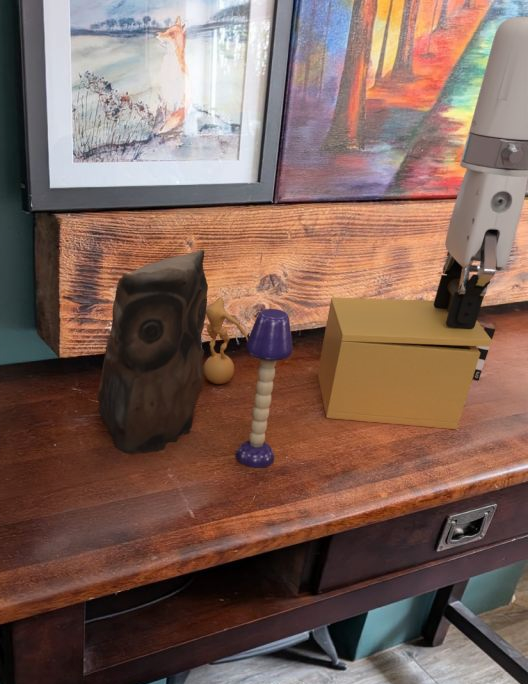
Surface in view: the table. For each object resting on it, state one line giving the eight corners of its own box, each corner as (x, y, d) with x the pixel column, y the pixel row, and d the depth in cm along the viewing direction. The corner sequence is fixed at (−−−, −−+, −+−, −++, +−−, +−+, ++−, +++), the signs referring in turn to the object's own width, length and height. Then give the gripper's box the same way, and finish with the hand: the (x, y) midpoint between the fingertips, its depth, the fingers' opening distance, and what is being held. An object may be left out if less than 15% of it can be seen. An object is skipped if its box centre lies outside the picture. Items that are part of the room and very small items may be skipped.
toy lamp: (277, 471, 80) (302, 321, 71) (234, 469, 80) (253, 319, 71) (270, 449, 84) (293, 305, 75) (229, 448, 84) (247, 303, 75)
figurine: (252, 385, 99) (263, 296, 92) (232, 401, 95) (243, 309, 88) (196, 370, 102) (204, 283, 96) (175, 385, 98) (182, 295, 91)
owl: (199, 409, 92) (215, 243, 81) (208, 460, 82) (227, 278, 71) (97, 406, 92) (99, 238, 81) (93, 457, 81) (94, 272, 70)
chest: (433, 383, 102) (453, 313, 97) (456, 429, 91) (480, 352, 85) (317, 374, 103) (330, 303, 98) (326, 418, 92) (341, 341, 86)
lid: (461, 307, 96) (469, 270, 93) (490, 346, 85) (501, 305, 82) (330, 303, 98) (335, 266, 95) (341, 341, 86) (347, 300, 84)
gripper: (564, 171, 73) (504, 346, 83) (511, 146, 87) (466, 298, 97) (486, 165, 73) (436, 340, 83) (446, 141, 87) (408, 293, 97)
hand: (452, 316), depth 90 cm, fingers closed on lid, 6 cm apart
